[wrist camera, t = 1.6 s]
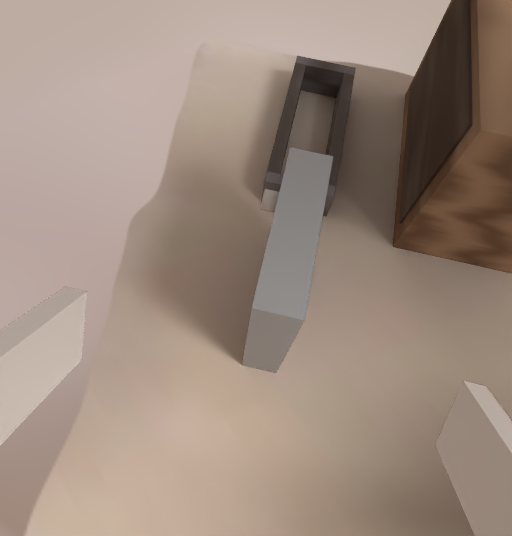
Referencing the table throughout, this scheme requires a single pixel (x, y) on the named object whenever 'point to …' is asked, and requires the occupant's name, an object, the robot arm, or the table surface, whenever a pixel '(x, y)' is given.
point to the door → (287, 259)
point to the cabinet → (438, 137)
